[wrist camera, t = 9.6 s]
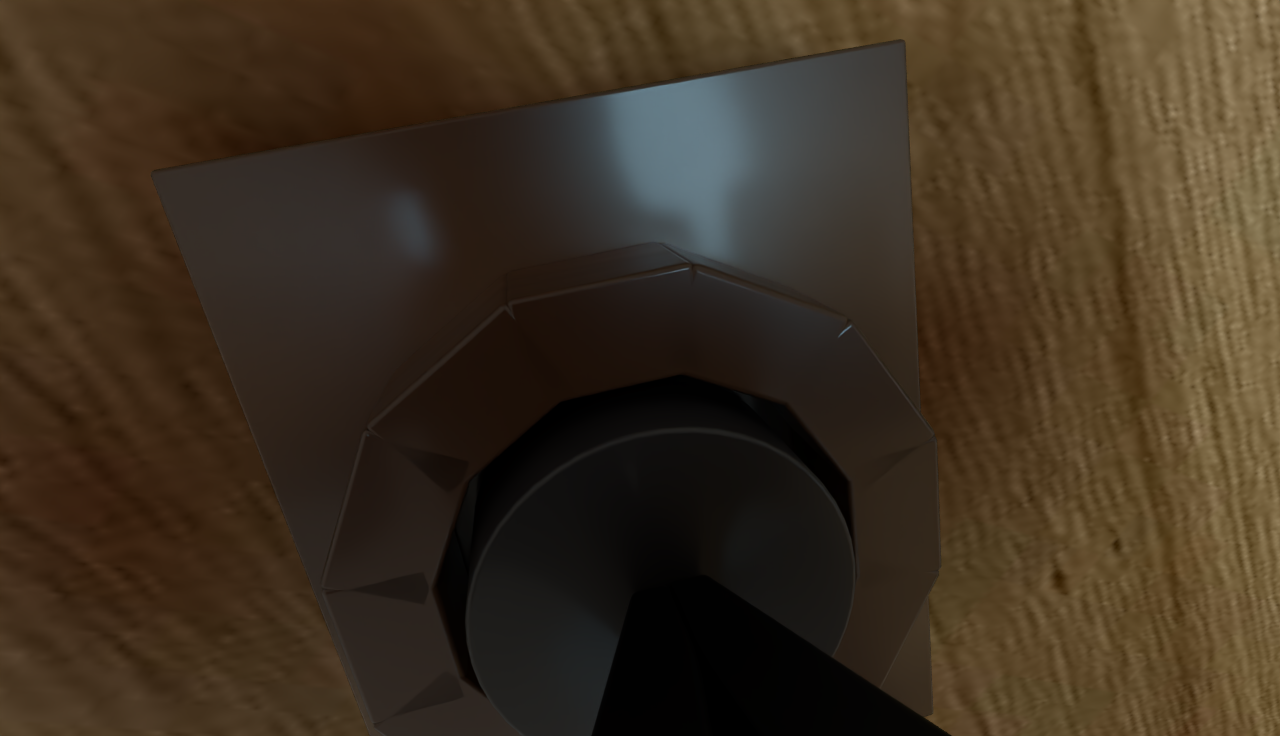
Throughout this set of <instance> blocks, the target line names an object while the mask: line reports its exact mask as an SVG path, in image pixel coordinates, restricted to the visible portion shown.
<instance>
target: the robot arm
mask: <svg viewBox="0 0 1280 736" xmlns="http://www.w3.org/2000/svg"><path fill="white" fill-rule="evenodd" d="M591 736H951V735H950V734H948V733H947V732H945V731H944V730H942V729H941V728H939V727H938V726H936V725H935V724H933V723H932V722H930V721H929V720H927V719H926V718H924V717H922V716H921V715H919V714H918V713H916V712H915V711H913V710H912V709H910V708H909V707H907V706H906V705H904V704H903V703H901V702H900V701H898V700H897V699H895V698H894V697H892V696H890V695H889V694H887V693H886V692H884V691H883V690H881V689H880V688H878V687H877V686H875V685H874V684H872V683H871V682H869V681H868V680H866V679H865V678H863V677H862V676H860V675H858V674H857V673H855V672H854V671H852V670H851V669H849V668H848V667H846V666H845V665H843V664H842V663H840V662H839V661H837V660H836V659H834V658H833V657H831V656H830V655H828V654H826V653H825V652H823V651H822V650H820V649H819V648H817V647H816V646H814V645H813V644H811V643H810V642H808V641H807V640H805V639H804V638H802V637H801V636H799V635H797V634H796V633H794V632H793V631H791V630H790V629H788V628H787V627H785V626H784V625H782V624H781V623H779V622H778V621H776V620H775V619H773V618H772V617H770V616H769V615H767V614H765V613H764V612H762V611H761V610H759V609H758V608H756V607H755V606H753V605H752V604H750V603H749V602H747V601H746V600H744V599H743V598H741V597H740V596H738V595H737V594H735V593H733V592H732V591H730V590H729V589H727V588H726V587H724V586H723V585H721V584H720V583H718V582H717V581H715V580H714V579H712V578H711V577H709V576H706V575H699V576H695V577H692V578H688V579H684V580H680V581H677V582H674V583H673V584H672V585H671V589H670V588H669V587H667V586H665V585H662V586H658V587H654V588H650V589H646V590H642V591H639V592H636V593H634V594H633V595H632V597H631V599H630V602H629V606H628V609H627V613H626V616H625V620H624V623H623V627H622V630H621V634H620V637H619V641H618V644H617V648H616V651H615V655H614V658H613V662H612V665H611V669H610V672H609V676H608V679H607V683H606V686H605V690H604V693H603V697H602V700H601V703H600V707H599V710H598V714H597V717H596V721H595V724H594V728H593V731H592V735H591Z"/></svg>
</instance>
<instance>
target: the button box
mask: <svg viewBox="0 0 1280 736" xmlns="http://www.w3.org/2000/svg"><path fill="white" fill-rule="evenodd" d="M151 177H152V180H153V182H154V185H155V187H156V190H157V193H158V195H159V198H160V200H161V203H162V205H163V208H164V210H165V213H166V216H167V218H168V221H169V223H170V226H171V228H172V231H173V233H174V236H175V239H176V241H177V244H178V246H179V249H180V251H181V254H182V256H183V259H184V262H185V264H186V267H187V269H188V272H189V274H190V277H191V279H192V282H193V285H194V287H195V290H196V292H197V295H198V297H199V300H200V303H201V305H202V308H203V310H204V313H205V315H206V318H207V320H208V323H209V326H210V328H211V331H212V333H213V336H214V338H215V341H216V343H217V346H218V349H219V351H220V354H221V356H222V359H223V361H224V364H225V366H226V369H227V372H228V374H229V377H230V379H231V382H232V384H233V387H234V389H235V392H236V395H237V397H238V400H239V402H240V405H241V407H242V410H243V412H244V415H245V418H246V420H247V423H248V425H249V428H250V430H251V433H252V435H253V438H254V441H255V443H256V446H257V448H258V451H259V453H260V456H261V459H262V461H263V464H264V466H265V469H266V471H267V474H268V476H269V479H270V482H271V484H272V487H273V489H274V492H275V494H276V497H277V499H278V502H279V505H280V507H281V510H282V512H283V515H284V517H285V520H286V522H287V525H288V528H289V530H290V533H291V535H292V538H293V540H294V543H295V545H296V548H297V551H298V553H299V556H300V558H301V561H302V563H303V566H304V568H305V571H306V574H307V576H308V579H309V581H310V584H311V586H312V589H313V591H314V594H315V597H316V599H317V602H318V604H319V607H320V609H321V612H322V615H323V617H324V620H325V622H326V625H327V627H328V630H329V632H330V635H331V638H332V640H333V643H334V645H335V648H336V650H337V653H338V655H339V658H340V661H341V663H342V666H343V668H344V671H345V673H346V676H347V678H348V681H349V684H350V686H351V689H352V691H353V694H354V696H355V699H356V701H357V704H358V707H359V709H360V712H361V714H362V717H363V719H364V722H365V724H366V727H367V730H368V732H369V735H370V736H522V735H521V734H520V733H519V732H517V731H516V730H515V729H514V728H513V727H512V726H510V725H509V724H508V723H507V722H506V721H505V720H504V718H503V717H502V716H501V715H500V714H499V713H498V711H497V710H496V709H495V708H494V707H493V706H492V704H491V702H490V701H489V699H488V697H487V696H486V694H485V692H484V691H483V689H482V688H481V686H480V684H479V682H478V679H477V677H476V674H475V672H474V669H473V667H472V664H471V661H470V656H469V652H468V647H467V643H466V629H465V612H466V600H467V589H468V578H469V567H470V555H471V544H472V533H473V522H474V512H475V504H476V500H477V496H478V492H479V488H480V485H481V482H482V480H483V477H484V475H485V472H486V470H487V467H488V465H489V464H490V463H491V462H492V461H494V460H495V459H496V458H497V457H498V456H499V455H500V454H502V453H503V452H504V451H505V450H506V449H507V448H509V447H510V446H511V445H512V444H513V443H514V442H515V441H517V440H518V439H519V438H520V437H521V436H522V435H523V434H525V433H526V432H527V431H528V430H529V429H530V428H531V427H533V426H534V425H535V424H536V423H537V422H538V421H540V420H541V419H542V418H543V417H544V416H545V415H546V414H548V413H549V412H550V411H551V410H552V409H553V408H554V407H556V406H557V405H558V404H559V403H560V402H562V401H567V400H571V399H576V398H580V397H584V396H589V395H593V394H598V393H602V392H606V391H611V390H615V389H620V388H624V387H628V386H633V385H637V384H642V383H646V382H650V381H655V380H659V379H664V378H668V377H672V376H677V375H684V376H687V377H690V378H693V379H697V380H700V381H703V382H707V383H710V384H713V385H717V386H720V387H722V388H724V389H726V390H728V391H730V392H731V393H733V394H735V395H736V396H737V397H738V398H740V399H741V400H742V401H744V402H745V403H746V404H748V405H749V406H750V407H751V408H752V409H753V410H754V411H755V412H756V413H757V414H758V415H759V416H760V417H761V418H762V419H763V420H764V421H765V422H766V423H767V424H768V426H769V427H770V428H771V429H772V430H773V431H774V432H775V433H776V434H777V435H778V436H779V437H780V438H781V439H782V440H783V441H784V442H785V443H786V445H787V446H788V447H789V448H790V449H791V450H792V451H793V452H794V453H795V454H796V455H797V456H798V457H799V458H800V459H801V460H802V461H803V463H804V464H805V465H806V466H807V467H808V468H809V469H810V470H811V471H812V472H813V473H814V474H815V475H816V476H817V477H818V478H819V479H820V480H821V482H822V483H823V484H824V485H825V487H826V488H827V489H828V491H829V492H830V494H831V495H832V496H833V498H834V499H835V501H836V503H837V505H838V507H839V509H840V511H841V513H842V515H843V516H844V518H845V521H846V524H847V527H848V530H849V533H850V537H851V540H852V546H853V552H854V558H855V592H854V599H853V606H852V610H851V614H850V618H849V621H848V625H847V628H846V630H845V633H844V635H843V638H842V640H841V642H840V645H839V647H838V649H837V651H836V653H835V654H834V656H833V658H834V659H836V660H837V661H839V662H840V663H842V664H843V665H845V666H846V667H848V668H849V669H851V670H852V671H854V672H855V673H857V674H858V675H860V676H862V677H863V678H865V679H866V680H868V681H869V682H871V683H872V684H874V685H875V686H877V687H878V688H880V689H881V690H883V691H884V692H886V693H887V694H889V695H890V696H892V697H894V698H895V699H897V700H898V701H900V702H901V703H903V704H904V705H906V706H907V707H909V708H910V709H912V710H913V711H915V712H916V713H918V714H919V715H921V716H922V717H926V716H929V715H932V714H933V695H932V671H931V647H930V623H929V599H928V595H929V593H930V591H931V589H932V587H933V585H934V583H935V581H936V579H937V577H938V576H939V571H938V570H939V569H940V568H941V545H940V515H939V485H938V455H937V439H936V437H935V433H934V430H933V429H932V427H931V426H930V424H929V423H928V422H927V420H926V419H925V418H924V416H923V415H922V414H921V406H920V382H919V358H918V334H917V310H916V286H915V262H914V238H913V214H912V190H911V166H910V142H909V118H908V94H907V70H906V46H905V40H902V39H899V40H893V41H888V42H882V43H876V44H871V45H865V46H859V47H853V48H848V49H842V50H836V51H831V52H825V53H819V54H814V55H808V56H802V57H796V58H791V59H785V60H779V61H774V62H768V63H762V64H757V65H751V66H745V67H739V68H734V69H728V70H722V71H717V72H711V73H705V74H699V75H694V76H688V77H682V78H677V79H671V80H665V81H660V82H654V83H648V84H642V85H637V86H631V87H625V88H620V89H614V90H608V91H603V92H597V93H591V94H585V95H580V96H574V97H568V98H563V99H557V100H551V101H545V102H540V103H534V104H528V105H523V106H517V107H511V108H506V109H500V110H494V111H488V112H483V113H477V114H471V115H466V116H460V117H454V118H449V119H443V120H437V121H431V122H426V123H420V124H414V125H409V126H403V127H397V128H392V129H386V130H380V131H374V132H369V133H363V134H357V135H352V136H346V137H340V138H334V139H329V140H323V141H317V142H312V143H306V144H300V145H295V146H289V147H283V148H277V149H272V150H266V151H260V152H255V153H249V154H243V155H238V156H232V157H226V158H220V159H215V160H209V161H203V162H198V163H192V164H186V165H181V166H175V167H169V168H163V169H158V170H154V171H152V172H151Z"/></svg>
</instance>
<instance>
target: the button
mask: <svg viewBox="0 0 1280 736" xmlns="http://www.w3.org/2000/svg"><path fill="white" fill-rule="evenodd" d="M699 575H706V576H709V577H711V578H712V579H714V580H715V581H717V582H718V583H720V584H721V585H723V586H724V587H726V588H727V589H729V590H730V591H732V592H733V593H735V594H737V595H738V596H740V597H741V598H743V599H744V600H746V601H747V602H749V603H750V604H752V605H753V606H755V607H756V608H758V609H759V610H761V611H762V612H764V613H765V614H767V615H769V616H770V617H772V618H773V619H775V620H776V621H778V622H779V623H781V624H782V625H784V626H785V627H787V628H788V629H790V630H791V631H793V632H794V633H796V634H797V635H799V636H801V637H802V638H804V639H805V640H807V641H808V642H810V643H811V644H813V645H814V646H816V647H817V648H819V649H820V650H822V651H823V652H825V653H826V654H828V655H830V656H831V657H833V656H834V654H835V653H836V651H837V649H838V647H839V645H840V642H841V640H842V638H843V635H844V633H845V630H846V628H847V625H848V621H849V618H850V614H851V610H852V606H853V599H854V592H855V558H854V552H853V546H852V540H851V537H850V533H849V530H848V527H847V524H846V521H845V518H844V516H843V515H842V513H841V511H840V509H839V507H838V505H837V503H836V501H835V499H834V498H833V496H832V495H831V494H830V492H829V491H828V489H827V488H826V487H825V485H824V484H823V483H822V482H821V480H820V479H819V478H818V477H817V476H816V475H815V474H814V473H813V472H812V471H811V470H810V469H809V468H808V467H807V466H806V465H805V464H804V463H803V461H802V460H801V459H800V458H799V457H798V456H797V455H796V454H795V453H794V452H793V451H792V450H791V449H790V448H789V447H788V446H787V445H786V443H785V442H784V441H783V440H782V439H781V438H780V437H779V436H778V435H777V434H776V433H775V432H774V431H773V430H772V429H771V428H770V427H769V426H768V424H767V423H766V422H765V421H764V420H763V419H762V418H761V417H760V416H759V415H758V414H757V413H756V412H755V411H754V410H753V409H752V408H751V407H750V406H749V405H748V404H746V403H745V402H744V401H742V400H741V399H740V398H738V397H737V396H736V395H735V394H733V393H731V392H730V391H728V390H726V389H724V388H722V387H720V386H717V385H713V384H710V383H707V382H703V381H700V380H697V379H693V378H690V377H687V376H684V375H677V376H672V377H668V378H664V379H659V380H655V381H650V382H646V383H642V384H637V385H633V386H628V387H624V388H620V389H615V390H611V391H606V392H602V393H598V394H593V395H589V396H584V397H580V398H576V399H571V400H567V401H562V402H560V403H559V404H558V405H557V406H556V407H554V408H553V409H552V410H551V411H550V412H549V413H548V414H546V415H545V416H544V417H543V418H542V419H541V420H540V421H538V422H537V423H536V424H535V425H534V426H533V427H531V428H530V429H529V430H528V431H527V432H526V433H525V434H523V435H522V436H521V437H520V438H519V439H518V440H517V441H515V442H514V443H513V444H512V445H511V446H510V447H509V448H507V449H506V450H505V451H504V452H503V453H502V454H500V455H499V456H498V457H497V458H496V459H495V460H494V461H492V462H491V463H490V464H489V465H488V467H487V470H486V472H485V475H484V477H483V480H482V482H481V485H480V488H479V492H478V496H477V500H476V504H475V512H474V522H473V533H472V544H471V555H470V567H469V578H468V589H467V600H466V612H465V629H466V643H467V647H468V652H469V656H470V661H471V664H472V667H473V669H474V672H475V674H476V677H477V679H478V682H479V684H480V686H481V688H482V689H483V691H484V692H485V694H486V696H487V697H488V699H489V701H490V702H491V704H492V706H493V707H494V708H495V709H496V710H497V711H498V713H499V714H500V715H501V716H502V717H503V718H504V720H505V721H506V722H507V723H508V724H509V725H510V726H512V727H513V728H514V729H515V730H516V731H517V732H519V733H520V734H521V735H522V736H591V735H592V731H593V728H594V724H595V721H596V717H597V714H598V710H599V707H600V703H601V700H602V697H603V693H604V690H605V686H606V683H607V679H608V676H609V672H610V669H611V665H612V662H613V658H614V655H615V651H616V648H617V644H618V641H619V637H620V634H621V630H622V627H623V623H624V620H625V616H626V613H627V609H628V606H629V602H630V599H631V597H632V595H633V594H634V593H636V592H639V591H642V590H646V589H650V588H654V587H658V586H662V585H665V586H667V587H669V588H670V589H671V585H672V584H673V583H674V582H677V581H680V580H684V579H688V578H692V577H695V576H699Z"/></svg>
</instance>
